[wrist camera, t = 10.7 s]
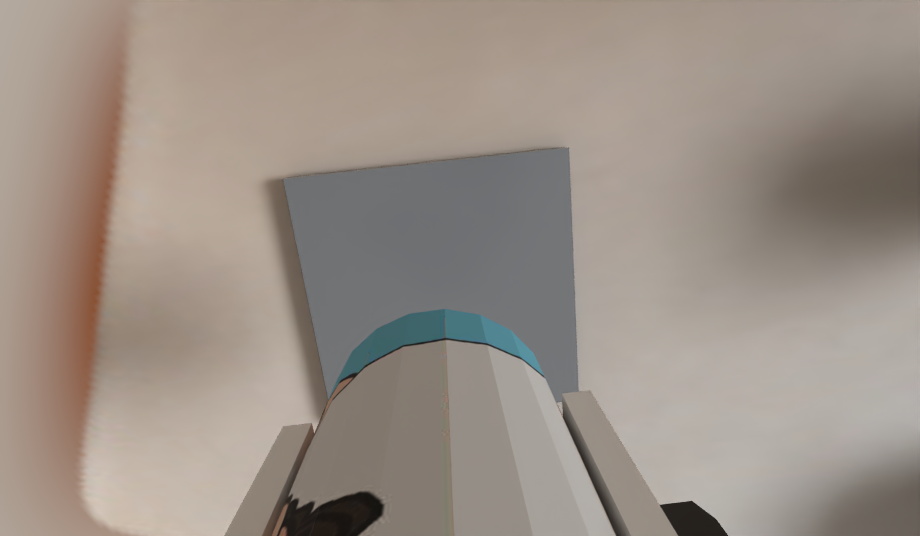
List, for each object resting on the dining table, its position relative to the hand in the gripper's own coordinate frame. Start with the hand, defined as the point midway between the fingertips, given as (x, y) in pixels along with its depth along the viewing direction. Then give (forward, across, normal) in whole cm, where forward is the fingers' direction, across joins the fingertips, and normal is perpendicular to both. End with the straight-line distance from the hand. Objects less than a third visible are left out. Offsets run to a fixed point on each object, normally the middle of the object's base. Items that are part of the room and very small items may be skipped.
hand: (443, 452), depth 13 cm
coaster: (+13, 0, 0) cm, 13 cm away
